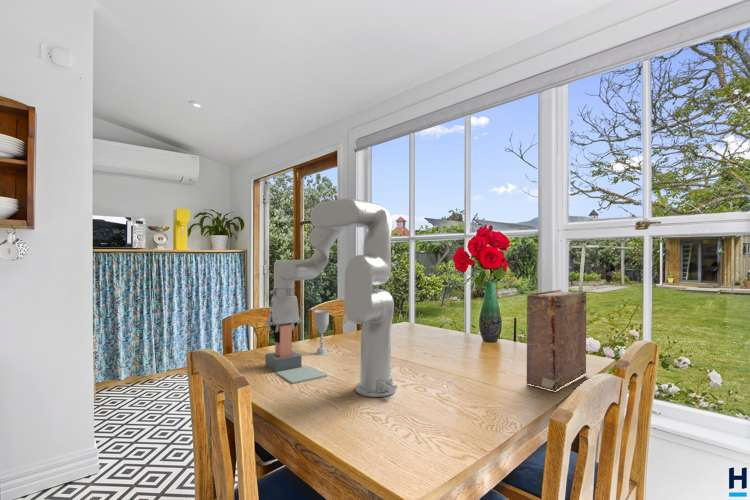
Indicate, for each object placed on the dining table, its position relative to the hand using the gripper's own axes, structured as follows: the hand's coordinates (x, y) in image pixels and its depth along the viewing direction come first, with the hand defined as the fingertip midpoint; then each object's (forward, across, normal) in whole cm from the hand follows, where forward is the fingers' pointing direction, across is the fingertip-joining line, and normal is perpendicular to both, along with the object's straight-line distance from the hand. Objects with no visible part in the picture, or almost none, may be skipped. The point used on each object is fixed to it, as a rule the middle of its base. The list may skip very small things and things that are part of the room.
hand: (283, 340), depth 144 cm
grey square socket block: (+10, 0, 0) cm, 10 cm away
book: (+10, +68, -70) cm, 98 cm away
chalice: (+10, +21, +8) cm, 25 cm away
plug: (+6, 0, 0) cm, 6 cm away
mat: (+10, +1, -13) cm, 16 cm away
